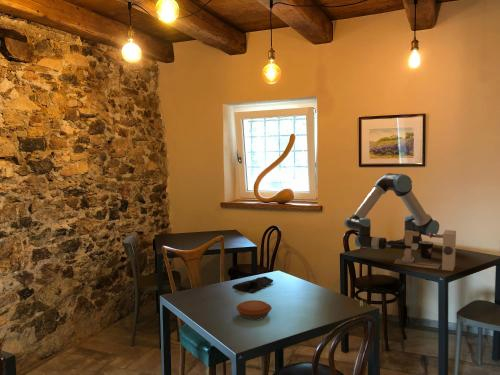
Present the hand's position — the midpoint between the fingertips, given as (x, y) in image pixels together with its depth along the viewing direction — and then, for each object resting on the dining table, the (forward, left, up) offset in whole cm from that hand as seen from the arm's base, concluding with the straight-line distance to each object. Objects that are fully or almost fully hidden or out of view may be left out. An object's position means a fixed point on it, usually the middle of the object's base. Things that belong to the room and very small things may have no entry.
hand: (417, 246), depth 272 cm
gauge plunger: (0, +12, +6) cm, 14 cm away
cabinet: (0, +18, -11) cm, 21 cm away
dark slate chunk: (+87, -69, -12) cm, 111 cm away
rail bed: (0, 0, -11) cm, 11 cm away
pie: (+122, -49, -11) cm, 132 cm away
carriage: (0, -4, -10) cm, 10 cm away
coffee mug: (-20, +1, -11) cm, 23 cm away
